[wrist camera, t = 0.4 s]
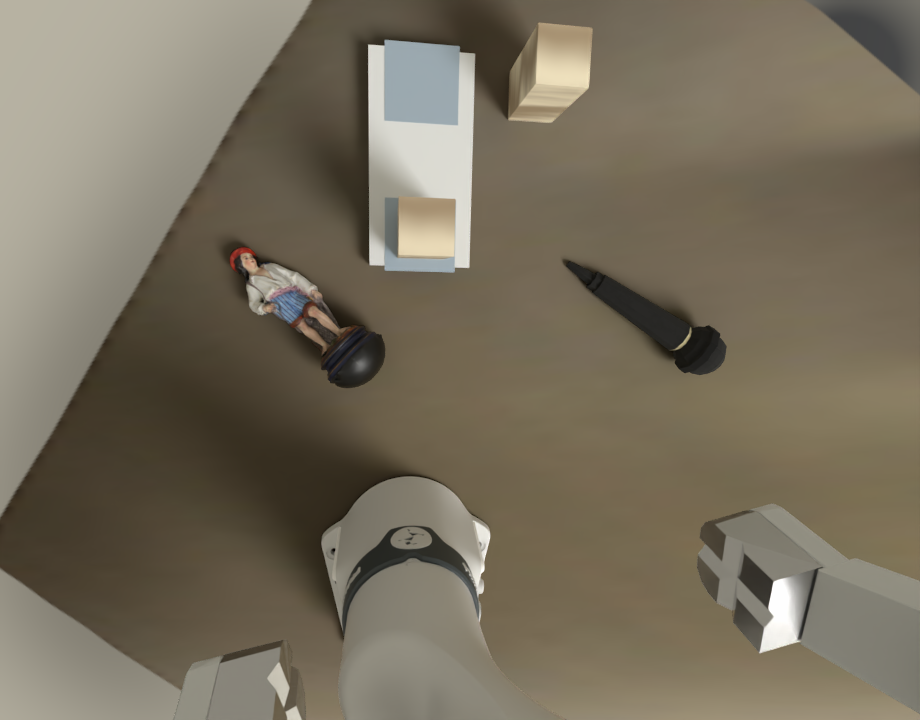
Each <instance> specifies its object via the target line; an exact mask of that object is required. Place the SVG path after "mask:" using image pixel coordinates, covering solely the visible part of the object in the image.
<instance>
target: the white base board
mask: <svg viewBox="0 0 920 720" xmlns="http://www.w3.org/2000/svg"><path fill="white" fill-rule="evenodd" d="M474 77H475V54H474V53H462V52H460V46H451V45H439V44H428V43H416V42H405V41H393V40H385V46H380V45H368V89H369V262H370V265H384V266H385V270H386V271H425V272H455V267H457V268H469V255H470V220H471V184H472V148H473V113H474ZM399 196H403V197H425V198H447V199H456V205H455V249H454V257H450V258H446V259H413V258H397V253H398V200H399Z"/></svg>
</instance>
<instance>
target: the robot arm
mask: <svg viewBox="0 0 920 720" xmlns="http://www.w3.org/2000/svg"><path fill="white" fill-rule="evenodd" d="M700 539H701V540H702V541H703V542H704V543H705V546H704V547H703V548H702V550H701V551H700V552H699V554H698V561H697V569H698V572H699V575H700V578H701V581H702V583H703V585H704V587H705V588H706V590H707V592H708V593H709V594H710V595H711V597H712V598H713V599H714V600H715V602H716V603H718V604H720V605H722V606H724V607H726V608H728V609H730V610H732V616H733V623H734V624H735V625H736V626H737V627H738V629H739V630H740V631H741V632H742V633H743V634H744V635H745V637H746V638H747V639H748V640H749V641H750V642H751V644H752V645H753V646H754V647H755V648H756V649H757V651H758V652H759V653H761V652H765V651H768V650H772V649H775V648H778V647H782V646H785V645H788V644H792V643H795V642H799V641H801V643H800V644H802V645H803V646H805V647H807V648H808V649H810V650H812V651H814V652H815V653H817V654H819V655H820V656H822V657H824V658H825V659H827V660H829V661H831V662H832V663H834V664H836V665H837V666H839V667H841V668H843V669H844V670H846V671H848V672H849V673H851V674H853V675H854V676H856V677H858V678H860V679H861V680H863V681H865V682H866V683H868V684H870V685H872V686H873V687H875V688H877V689H878V690H880V691H882V692H883V693H885V694H887V695H889V696H890V697H892V698H894V699H895V700H897V701H899V702H900V703H902V704H904V705H906V706H907V707H909V708H911V709H912V710H914V711H916V712H918V713H919V714H920V581H918V580H915V579H913V578H910V577H907V576H904V575H901V574H899V573H896V572H893V571H890V570H887V569H885V568H882V567H879V566H876V565H873V564H871V563H868V562H865V561H862V560H860V559H857V558H855V559H851V560H848V559H847V558H846V557H844V556H843V555H842V554H841V553H839V552H838V551H837V550H835V549H834V548H833V547H832V546H830V545H829V544H828V543H827V542H825V541H824V540H823V539H821V538H820V537H819V536H818V535H816V534H815V533H814V532H813V531H811V530H810V529H809V528H807V527H806V526H805V525H804V524H802V523H801V522H800V521H799V520H797V519H796V518H795V517H793V516H792V515H791V514H790V513H788V512H787V511H786V510H784V509H783V508H782V507H780V506H778V505H775V504H769V505H765V506H762V507H758V508H754V509H751V510H749V511H742V512H739V513H736V514H732V515H729V516H725V517H722V518H718V519H715V520H712V521H708V522H705V523H704V525H703V526H702V527H701V532H700ZM489 540H490V530H489V527H488V526H487V525H486V524H485V523H484V522H483V521H481V520H480V519H478V518H476V517H475V516H473V515H471V514H470V513H469V512H468V511H467V509H466V508H465V507H464V505H463V504H462V502H461V501H460V500H459V498H458V497H457V496H456V495H455V494H454V493H453V492H452V491H451V490H449V489H448V488H447V487H445V486H444V485H442V484H440V483H438V482H436V481H433V480H430V479H427V478H422V477H413V476H408V477H398V478H393V479H389V480H386V481H384V482H381V483H379V484H377V485H375V486H374V487H372V488H370V489H369V490H368V491H366V492H365V493H364V494H363V495H362V496H361V497H360V498H359V499H358V500H357V501H356V502H355V503H354V505H353V506H352V508H351V509H350V510H349V512H348V513H347V515H346V516H345V517H344V518H343V519H342V520H340V521H339V522H337V523H336V524H334V525H333V526H331V527H330V528H328V529H327V530H326V531H325V532H324V533H323V535H322V541H321V545H322V550H323V554H324V558H325V562H326V566H327V570H328V574H329V578H330V582H331V586H332V590H333V594H334V598H335V602H336V606H337V610H338V614H339V618H340V622H341V626H342V630H343V634H344V644H343V651H342V659H341V666H340V673H339V681H338V694H339V701H340V706H341V710H342V713H343V716H344V718H345V720H566V719H565V718H563V717H561V716H559V715H557V714H555V713H554V712H552V711H550V710H548V709H547V708H545V707H544V706H542V705H541V704H539V703H538V702H536V701H535V700H533V699H532V698H531V697H530V696H528V695H527V694H526V693H524V692H523V691H522V690H521V689H519V688H518V687H517V686H516V685H515V684H514V683H513V682H512V681H511V680H510V679H509V678H508V677H507V676H506V675H505V674H504V673H503V672H502V671H501V670H500V669H499V668H498V666H497V665H496V663H495V662H494V661H493V659H492V657H491V655H490V652H489V650H488V647H487V644H486V642H485V639H484V636H483V633H482V631H481V627H480V624H479V621H480V617H481V604H480V602H479V600H478V594H482V593H483V589H484V581H483V580H482V579H480V577H481V573H482V572H484V560H485V556H486V552H487V548H488V544H489ZM479 542H480V543H479ZM333 548H335V552H334V551H332V550H331V549H333ZM291 663H292V650H291V648H290V646H289V643H288V641H287V640H281V641H277V642H273V643H269V644H265V645H261V646H257V647H253V648H249V649H245V650H241V651H237V652H233V653H229V654H225V655H222V656H218V657H214V658H211V659H207V660H203V661H199V662H195V663H193V664H192V666H191V667H190V669H189V671H188V672H187V674H186V677H185V680H184V684H183V687H182V691H181V694H180V698H179V701H178V705H177V709H176V712H175V716H174V719H173V720H306V706H305V692H304V687H303V682H302V678H301V675H300V672H299V670H298V669H296V668H294V667H292V666H291Z"/></svg>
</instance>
